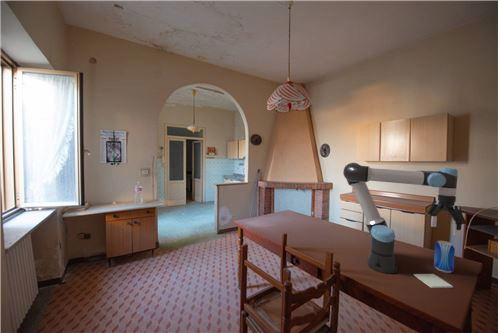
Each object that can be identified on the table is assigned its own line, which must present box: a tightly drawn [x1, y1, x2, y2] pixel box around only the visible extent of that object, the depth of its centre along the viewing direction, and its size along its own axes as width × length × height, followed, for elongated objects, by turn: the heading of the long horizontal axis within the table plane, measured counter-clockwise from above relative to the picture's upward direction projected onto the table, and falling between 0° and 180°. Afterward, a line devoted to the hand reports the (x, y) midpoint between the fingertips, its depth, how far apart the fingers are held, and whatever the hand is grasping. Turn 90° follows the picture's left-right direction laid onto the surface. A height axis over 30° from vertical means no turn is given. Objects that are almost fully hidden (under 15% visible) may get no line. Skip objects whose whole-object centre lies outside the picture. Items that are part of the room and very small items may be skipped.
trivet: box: [413, 273, 454, 289], centre depth 111 cm, size 11×11×1 cm
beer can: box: [433, 240, 456, 274], centre depth 121 cm, size 8×8×16 cm
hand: (444, 230), depth 122 cm, fingers open, 13 cm apart
